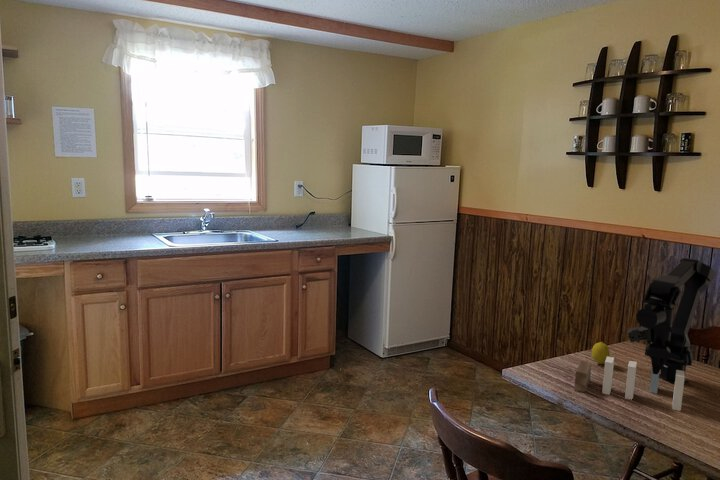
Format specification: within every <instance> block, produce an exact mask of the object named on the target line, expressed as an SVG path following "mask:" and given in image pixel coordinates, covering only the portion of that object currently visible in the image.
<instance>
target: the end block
mask: <svg viewBox="0 0 720 480" xmlns="http://www.w3.org/2000/svg"><path fill="white" fill-rule="evenodd" d="M591 372H592V362H588V361H584V360H581V361H580V362H579V364H578V366H577V369H576V370H575V377H574V388H573V391H577V392H581V393H586V391H587V388H588V387H589V384H590V382H591V374H592V373H591Z"/></svg>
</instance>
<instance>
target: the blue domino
mask: <svg viewBox="0 0 720 480" xmlns="http://www.w3.org/2000/svg"><path fill="white" fill-rule="evenodd" d="M659 374H660V372H659V373H658V374H657V375H656V374H653V369H652V368H651V373H650V383H649V393H652V394H658V388H659V381H660V380H659V379H660V377H659Z"/></svg>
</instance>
